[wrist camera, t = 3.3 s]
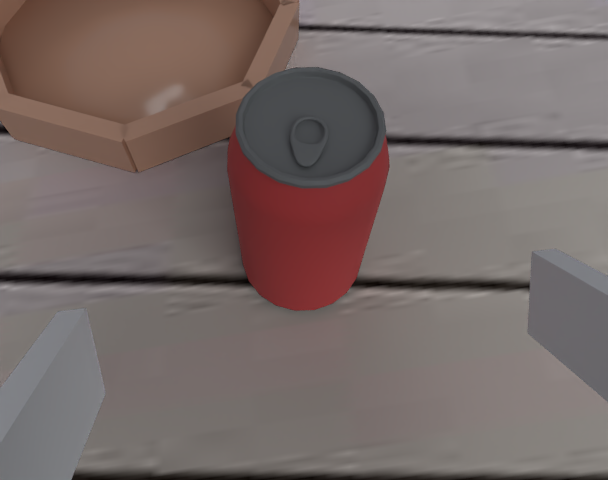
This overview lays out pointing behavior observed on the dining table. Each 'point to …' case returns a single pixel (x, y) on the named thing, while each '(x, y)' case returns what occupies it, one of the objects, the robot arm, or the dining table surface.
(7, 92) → the terracotta saucer
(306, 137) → the beer can
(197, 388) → the dining table surface
